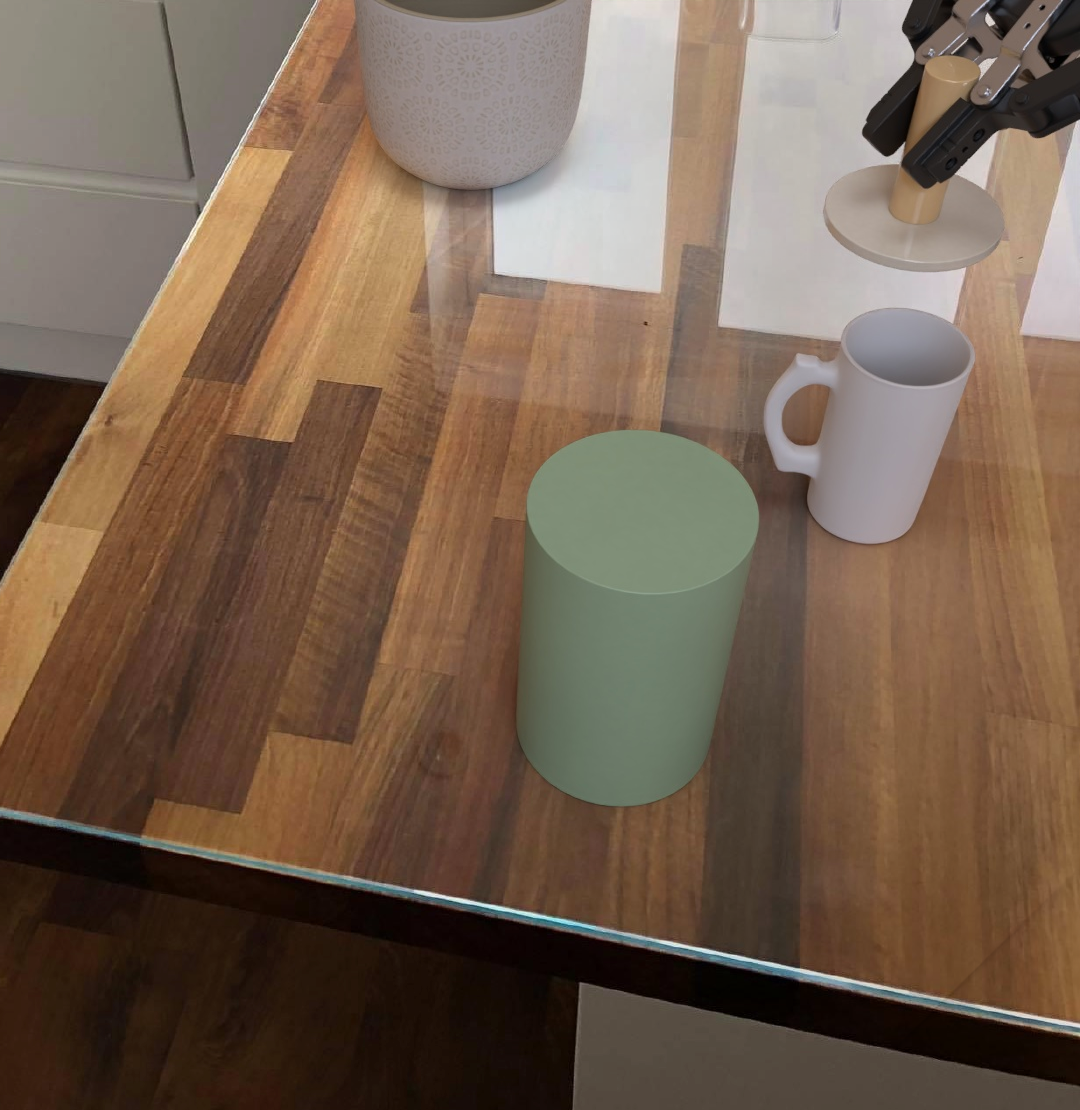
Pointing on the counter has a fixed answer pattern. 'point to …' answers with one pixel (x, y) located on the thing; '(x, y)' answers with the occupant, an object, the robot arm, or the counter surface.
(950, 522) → the counter surface
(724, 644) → the cylinder
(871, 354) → the mug
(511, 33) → the planter
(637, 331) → the counter surface
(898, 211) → the lid
